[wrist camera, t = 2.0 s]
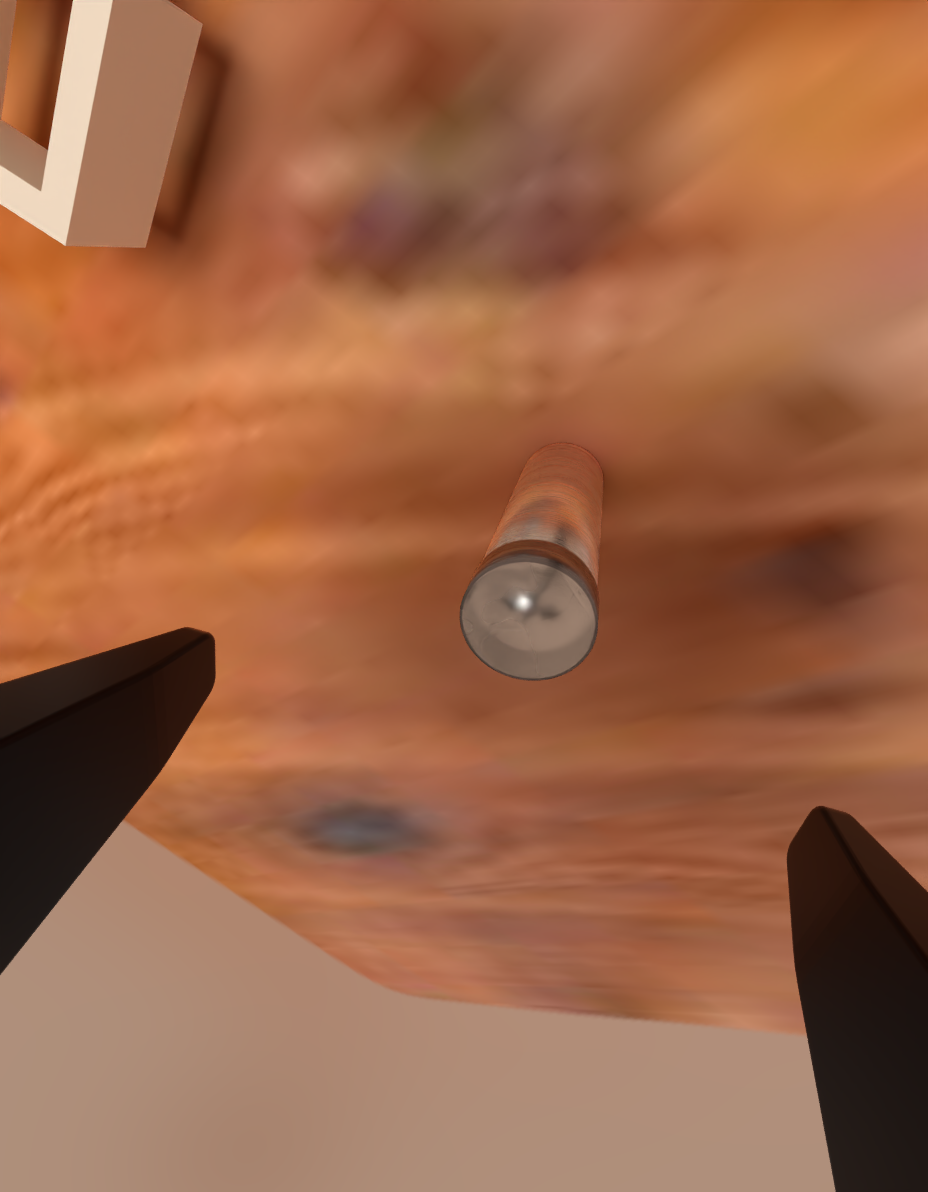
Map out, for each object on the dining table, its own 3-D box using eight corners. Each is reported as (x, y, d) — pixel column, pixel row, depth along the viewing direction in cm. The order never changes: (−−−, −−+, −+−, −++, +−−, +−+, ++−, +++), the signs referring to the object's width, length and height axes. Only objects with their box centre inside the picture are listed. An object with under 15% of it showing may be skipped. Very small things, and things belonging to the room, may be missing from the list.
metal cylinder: (616, 452, 20) (615, 580, 12) (591, 532, 21) (577, 695, 13) (529, 431, 20) (473, 544, 12) (511, 512, 21) (449, 660, 13)
